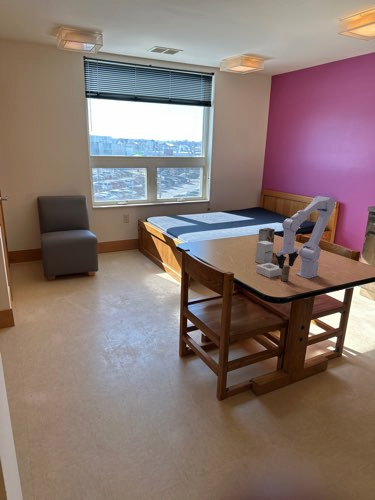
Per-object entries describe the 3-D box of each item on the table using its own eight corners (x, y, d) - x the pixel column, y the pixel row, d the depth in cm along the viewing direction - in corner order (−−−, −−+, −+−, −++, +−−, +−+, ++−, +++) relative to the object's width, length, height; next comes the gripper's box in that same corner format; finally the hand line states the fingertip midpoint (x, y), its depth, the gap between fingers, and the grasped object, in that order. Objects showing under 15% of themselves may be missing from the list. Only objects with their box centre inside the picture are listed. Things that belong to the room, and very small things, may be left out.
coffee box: (265, 250, 239) (267, 227, 235) (272, 252, 235) (275, 229, 230) (256, 252, 234) (258, 229, 229) (264, 254, 229) (266, 230, 224)
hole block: (268, 269, 201) (269, 262, 199) (281, 274, 193) (282, 267, 191) (256, 272, 195) (256, 265, 194) (269, 277, 187) (269, 270, 186)
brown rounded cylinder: (283, 278, 186) (285, 264, 184) (289, 280, 183) (291, 266, 181) (278, 279, 184) (280, 265, 182) (284, 282, 181) (286, 267, 179)
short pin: (274, 265, 207) (274, 259, 206) (279, 267, 204) (280, 261, 203) (269, 266, 205) (270, 260, 204) (274, 268, 202) (275, 262, 201)
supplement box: (263, 264, 208) (265, 244, 205) (254, 261, 214) (256, 241, 210) (271, 263, 212) (274, 243, 209) (263, 259, 218) (265, 240, 214)
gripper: (291, 238, 185) (289, 262, 189) (273, 241, 177) (270, 267, 181) (302, 241, 179) (299, 266, 183) (283, 245, 172) (280, 271, 175)
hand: (285, 267), depth 182 cm, fingers open, 7 cm apart
